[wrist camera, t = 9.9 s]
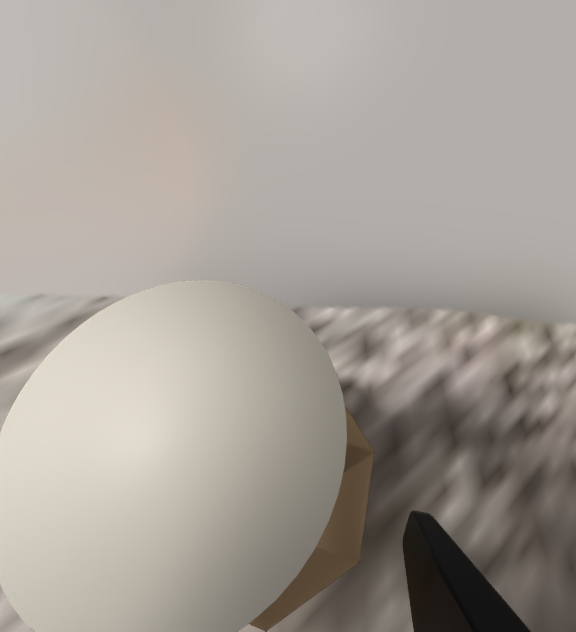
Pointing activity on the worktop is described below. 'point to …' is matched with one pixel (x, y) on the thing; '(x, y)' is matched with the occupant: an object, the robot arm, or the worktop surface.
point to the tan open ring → (332, 533)
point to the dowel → (169, 464)
